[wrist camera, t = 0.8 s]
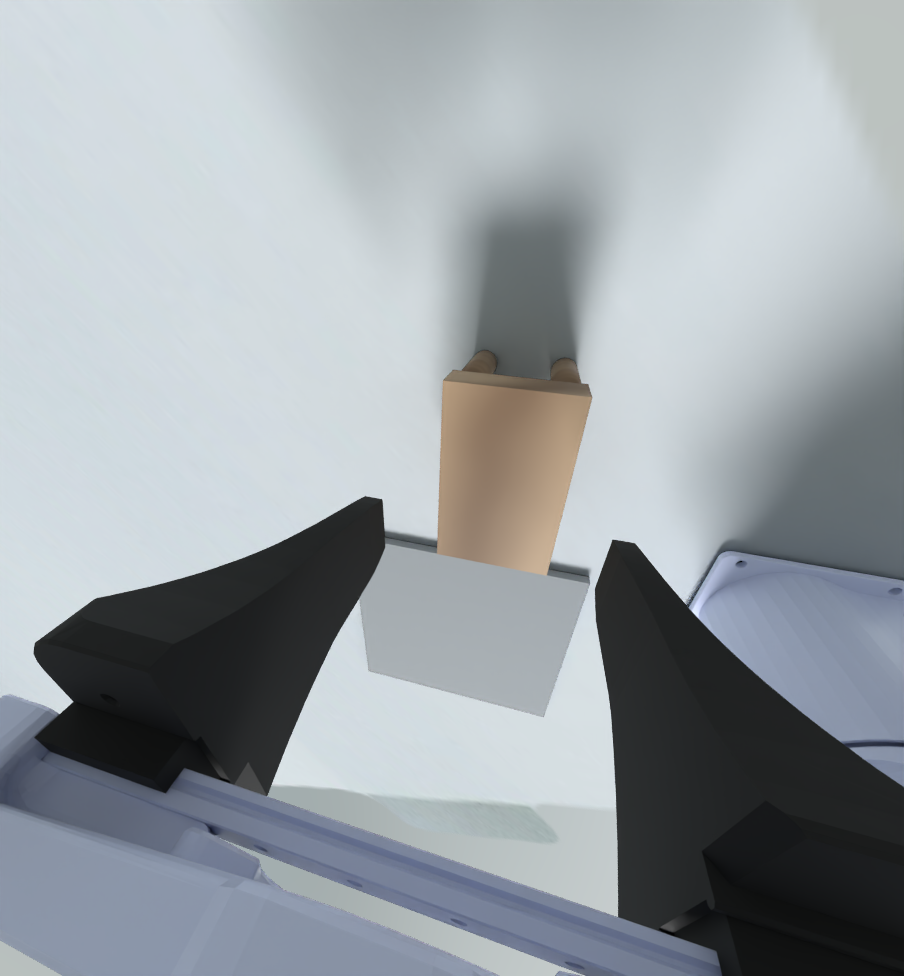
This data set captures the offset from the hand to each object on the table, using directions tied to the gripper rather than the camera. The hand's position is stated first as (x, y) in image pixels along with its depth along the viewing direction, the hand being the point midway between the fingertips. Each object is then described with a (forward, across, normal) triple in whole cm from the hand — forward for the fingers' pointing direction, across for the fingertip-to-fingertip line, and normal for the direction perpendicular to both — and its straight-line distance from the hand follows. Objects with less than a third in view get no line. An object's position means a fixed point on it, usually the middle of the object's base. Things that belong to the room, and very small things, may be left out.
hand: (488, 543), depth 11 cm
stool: (+9, 0, 0) cm, 9 cm away
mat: (+9, +2, +17) cm, 20 cm away
